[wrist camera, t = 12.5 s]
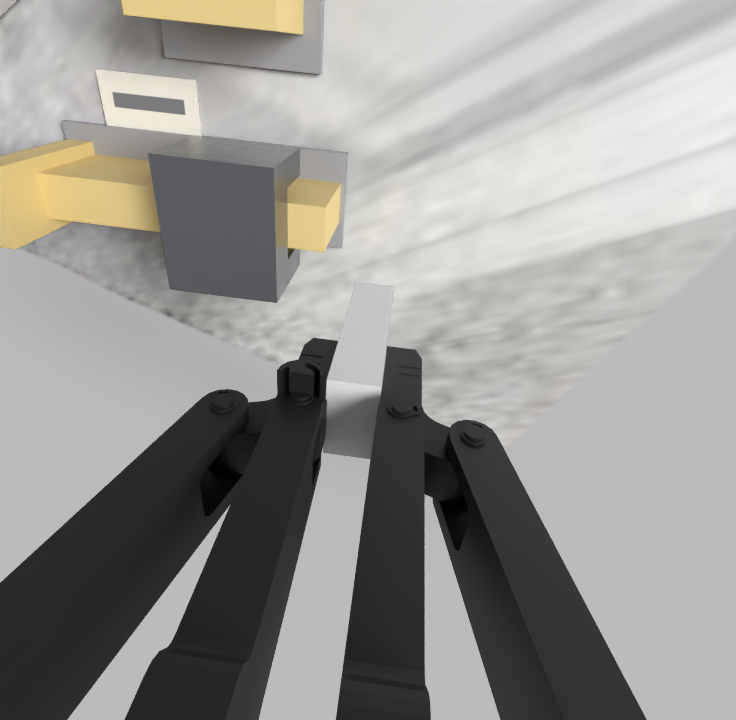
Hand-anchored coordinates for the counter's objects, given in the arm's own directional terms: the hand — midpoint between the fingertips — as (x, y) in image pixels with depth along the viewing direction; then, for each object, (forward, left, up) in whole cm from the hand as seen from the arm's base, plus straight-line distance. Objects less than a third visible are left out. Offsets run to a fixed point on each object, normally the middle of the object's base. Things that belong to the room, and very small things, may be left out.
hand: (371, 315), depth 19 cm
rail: (0, -12, -14) cm, 19 cm away
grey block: (0, -8, -11) cm, 14 cm away
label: (-5, -15, -14) cm, 22 cm away
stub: (-10, -9, -14) cm, 20 cm away
